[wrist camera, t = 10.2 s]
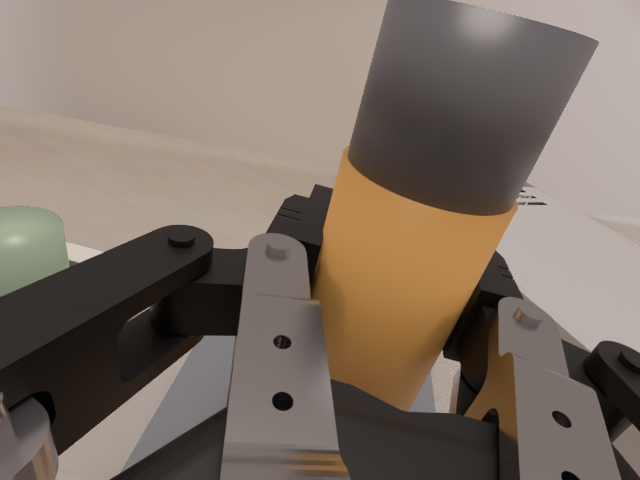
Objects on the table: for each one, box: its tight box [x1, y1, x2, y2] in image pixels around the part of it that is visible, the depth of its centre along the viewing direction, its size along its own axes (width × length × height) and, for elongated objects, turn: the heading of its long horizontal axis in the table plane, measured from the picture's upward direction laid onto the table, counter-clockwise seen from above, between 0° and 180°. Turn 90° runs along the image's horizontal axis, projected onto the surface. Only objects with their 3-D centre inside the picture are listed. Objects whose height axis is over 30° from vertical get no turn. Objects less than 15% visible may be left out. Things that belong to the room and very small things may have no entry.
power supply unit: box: [496, 181, 640, 477], centre depth 29 cm, size 19×33×5 cm, turn 23°
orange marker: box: [310, 0, 599, 412], centre depth 10 cm, size 4×4×13 cm
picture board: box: [121, 336, 435, 472], centre depth 18 cm, size 12×15×1 cm
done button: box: [0, 206, 70, 297], centre depth 15 cm, size 3×3×4 cm
